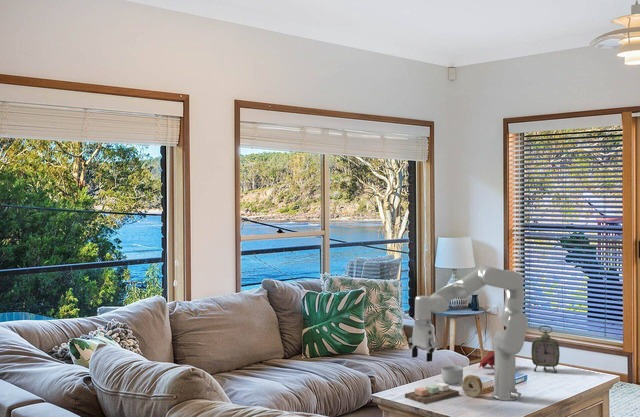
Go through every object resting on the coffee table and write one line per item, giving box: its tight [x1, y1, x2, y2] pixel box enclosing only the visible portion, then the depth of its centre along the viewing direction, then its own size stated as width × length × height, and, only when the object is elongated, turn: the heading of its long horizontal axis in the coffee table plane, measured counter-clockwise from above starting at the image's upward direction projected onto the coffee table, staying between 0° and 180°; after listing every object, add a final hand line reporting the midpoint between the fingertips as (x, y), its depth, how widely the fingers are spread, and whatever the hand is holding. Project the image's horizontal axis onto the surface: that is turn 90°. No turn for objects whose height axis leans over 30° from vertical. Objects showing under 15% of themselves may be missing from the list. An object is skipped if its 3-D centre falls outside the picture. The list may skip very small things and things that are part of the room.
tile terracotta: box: [414, 386, 428, 396], centre depth 327 cm, size 4×4×2 cm
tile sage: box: [425, 384, 439, 394], centre depth 331 cm, size 4×4×2 cm
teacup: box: [440, 364, 464, 385], centre depth 356 cm, size 14×11×8 cm
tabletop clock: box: [530, 324, 560, 374], centre depth 381 cm, size 14×9×25 cm, turn 73°
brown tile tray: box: [404, 387, 460, 404], centre depth 331 cm, size 12×24×2 cm, turn 127°
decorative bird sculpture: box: [478, 350, 495, 370], centre depth 384 cm, size 28×9×15 cm
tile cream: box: [435, 382, 450, 391], centre depth 335 cm, size 4×4×2 cm
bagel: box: [461, 374, 484, 398], centre depth 332 cm, size 10×4×10 cm, turn 43°
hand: (422, 359), depth 326 cm, fingers open, 9 cm apart
